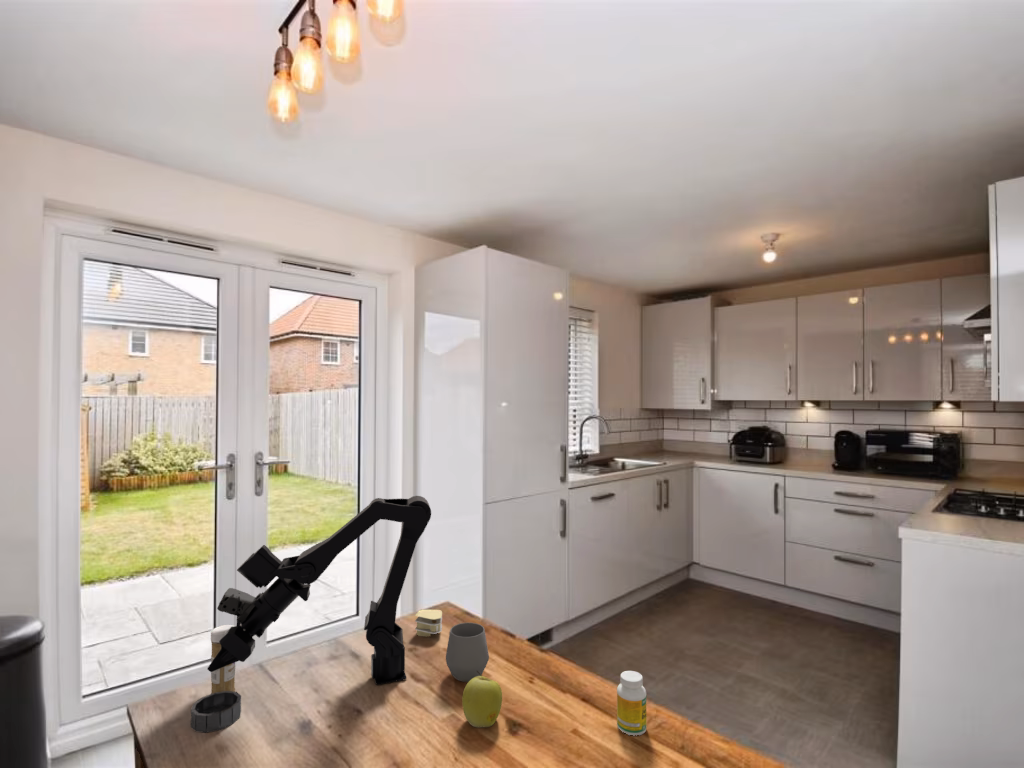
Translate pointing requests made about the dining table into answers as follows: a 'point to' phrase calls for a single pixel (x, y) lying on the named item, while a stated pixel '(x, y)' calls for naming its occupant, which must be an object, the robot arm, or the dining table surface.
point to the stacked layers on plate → (428, 622)
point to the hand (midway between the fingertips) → (215, 660)
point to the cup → (467, 651)
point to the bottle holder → (215, 711)
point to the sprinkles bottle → (225, 675)
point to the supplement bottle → (631, 704)
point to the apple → (482, 701)
